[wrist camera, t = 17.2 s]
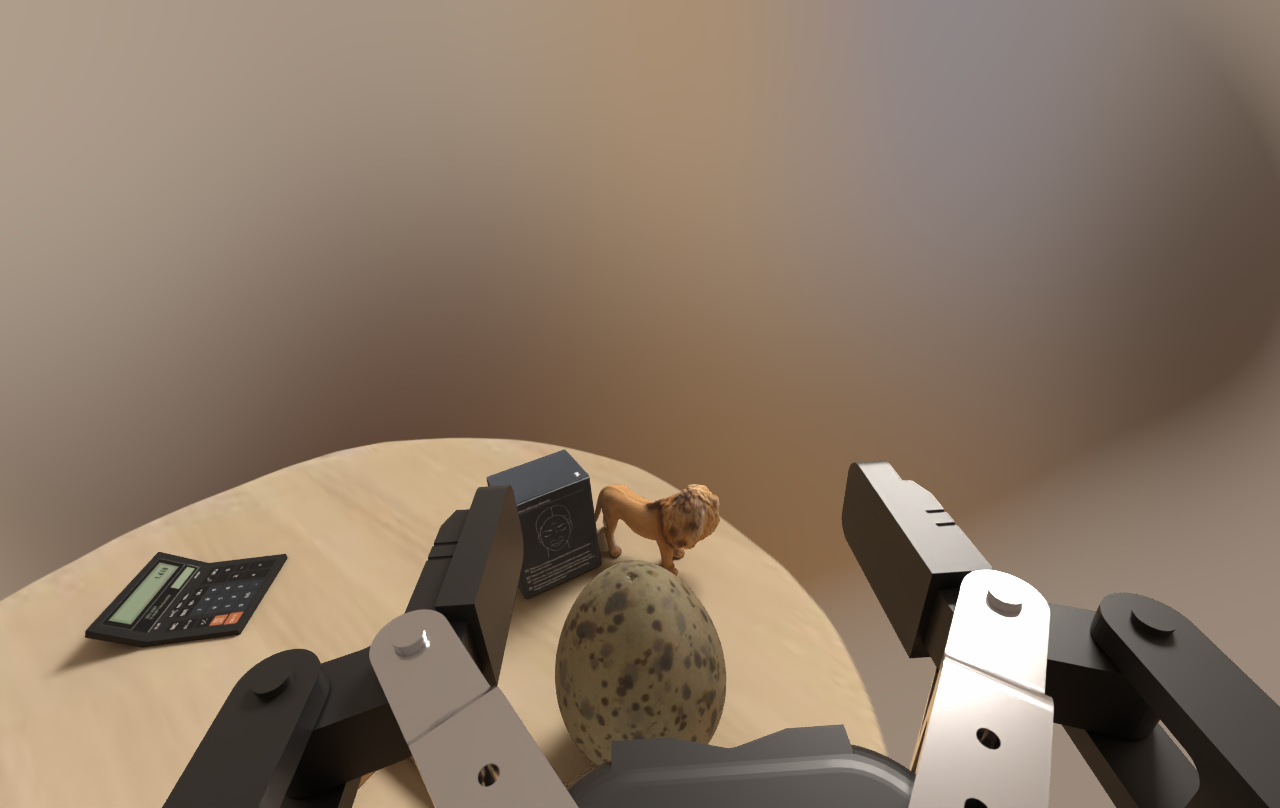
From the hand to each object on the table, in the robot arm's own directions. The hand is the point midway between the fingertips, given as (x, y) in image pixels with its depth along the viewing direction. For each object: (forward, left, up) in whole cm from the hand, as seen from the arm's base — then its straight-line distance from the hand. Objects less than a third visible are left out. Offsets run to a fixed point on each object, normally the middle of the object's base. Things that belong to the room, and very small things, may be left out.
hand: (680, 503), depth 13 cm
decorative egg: (+9, +9, -30) cm, 33 cm away
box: (+19, +25, -30) cm, 43 cm away
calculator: (-2, +51, -31) cm, 59 cm away
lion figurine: (+25, +18, -30) cm, 43 cm away
